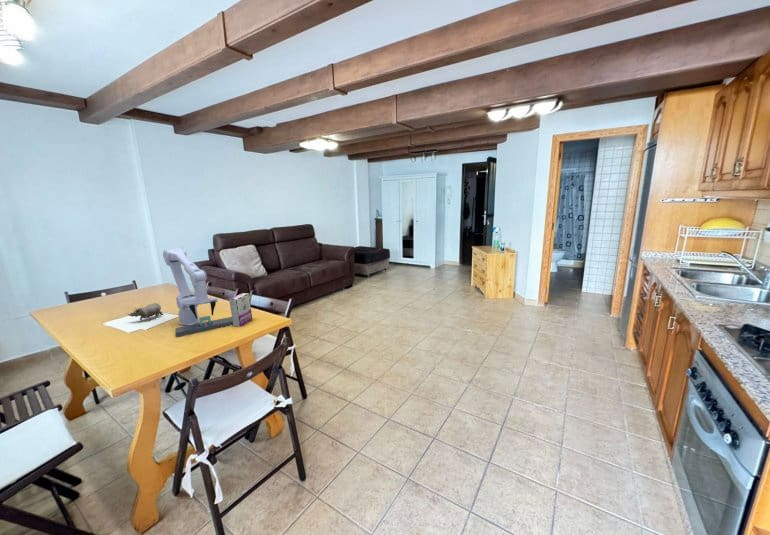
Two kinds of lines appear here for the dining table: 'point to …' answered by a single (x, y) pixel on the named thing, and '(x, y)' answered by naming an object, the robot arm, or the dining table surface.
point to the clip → (205, 320)
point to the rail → (203, 327)
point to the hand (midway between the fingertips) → (204, 316)
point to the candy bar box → (240, 309)
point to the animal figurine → (147, 311)
